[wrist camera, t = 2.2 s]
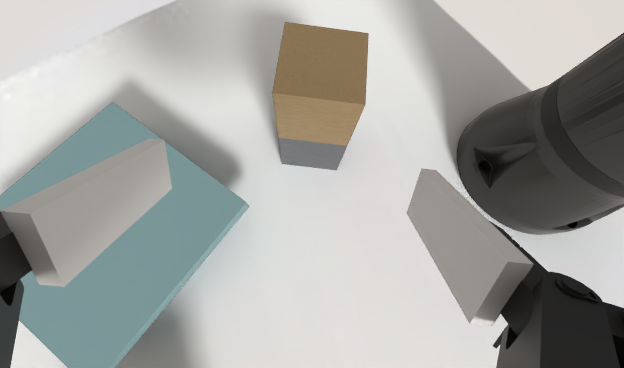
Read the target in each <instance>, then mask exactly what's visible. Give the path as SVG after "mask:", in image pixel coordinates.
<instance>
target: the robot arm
mask: <svg viewBox="0 0 624 368" xmlns="http://www.w3.org/2000/svg"><path fill="white" fill-rule="evenodd" d="M457 160H458V167H459V171H460V175H461V177H462V180H463V182H464V184H465V186H466V188H467V190H468V192H469V193H470V195H471V196H472V198H473V199H474V200H475V202H476V203H477V204H478V205H479V206H480V207H481V208H482V209H483V210H484V211H485V212H486V213H487V214H489V215H490V216H491V217H492V218H494V219H495V220H497V221H498V222H500V223H501V224H503V225H505V226H507V227H509V228H512V229H514V230H517V231H520V232H524V233H529V234H538V235H541V234H553V233H561V232H568V231H572V230H576V229H579V228H582V227H584V226H586V225H588V224H590V223H592V222H594V221H596V220H598V219H600V218H603V217H605V216H607V215H609V214H611V213H613V212H615V211H617V210H619V209H621V208H623V207H624V33H623V34H621V35H620V36H618V37H617V38H616V39H614V40H613V41H611V42H610V43H609V44H607V45H606V46H604V47H603V48H601V49H600V50H599V51H597V52H596V53H594V54H593V55H592V56H590V57H589V58H587V59H586V60H584V61H583V62H582V63H580V64H579V65H577V66H576V67H574V68H573V69H572V70H570V71H569V72H567V73H566V74H565V75H563V76H562V77H561V78H559V79H558V80H556V81H554V82H553V83H551V84H550V85H548V86H546V87H543V88H540V89H537V90H535V91H532V92H529V93H526V94H524V95H521V96H518V97H515V98H513V99H510V100H507V101H505V102H502V103H499V104H497V105H494V106H493V107H491V108H489V109H487V110H486V111H484V112H483V113H482V114H481V115H479V116H478V117H477V118H476V119H474V120H473V121H472V122H471V123H470V124H469V125H468V126H467V127H466V129H465V130H464V132H463V133H462V135H461V138H460V141H459V145H458V151H457ZM171 189H172V185H171V178H170V172H169V166H168V159H167V153H166V147H165V140H158V139H147V140H145V141H143V142H141V143H139V144H137V145H135V146H133V147H130V148H128V149H126V150H124V151H122V152H120V153H118V154H116V155H114V156H112V157H110V158H108V159H106V160H104V161H102V162H100V163H98V164H96V165H94V166H91V167H89V168H87V169H85V170H83V171H81V172H79V173H77V174H75V175H73V176H71V177H69V178H67V179H65V180H63V181H61V182H59V183H57V184H55V185H52V186H50V187H48V188H46V189H44V190H42V191H40V192H38V193H36V194H34V195H32V196H30V197H28V198H26V199H24V200H22V201H20V202H18V203H15V204H13V205H11V206H9V207H7V208H5V209H3V210H1V211H0V368H10V365H11V360H12V354H13V349H14V343H15V338H16V332H17V326H18V321H19V315H20V310H21V304H22V299H23V293H24V286H23V283H22V281H21V280H20V279H21V278H22V277H24V276H25V275H26V274H28V273H29V272H30V271H32V272H33V274H34V276H35V278H36V280H37V282H38V283H39V285H49V286H60V287H65V286H66V285H67V284H68V283H69V282H70V281H71V280H72V279H73V278H74V277H76V276H77V275H78V274H79V273H80V272H81V271H82V270H83V269H84V268H85V267H87V266H88V265H89V264H90V263H91V262H92V261H93V260H94V259H95V258H96V257H98V256H99V255H100V254H101V253H102V252H103V251H104V250H105V249H106V248H107V247H109V246H110V245H111V244H112V243H113V242H114V241H115V240H116V239H117V238H118V237H120V236H121V235H122V234H123V233H124V232H125V231H126V230H127V229H128V228H129V227H131V226H132V225H133V224H134V223H135V222H136V221H137V220H138V219H139V218H140V217H142V216H143V215H144V214H145V213H146V212H147V211H148V210H149V209H150V208H151V207H153V206H154V205H155V204H156V203H157V202H158V201H159V200H160V199H161V198H162V197H163V196H165V195H166V194H167V193H168V192H169V191H170V190H171ZM407 215H408V216H409V218H410V220H411V222H412V223H413V225H414V227H415V229H416V230H417V232H418V234H419V236H420V237H421V239H422V241H423V243H424V244H425V246H426V248H427V250H428V251H429V253H430V255H431V257H432V258H433V260H434V262H435V264H436V265H437V267H438V269H439V271H440V272H441V274H442V276H443V278H444V279H445V281H446V283H447V285H448V287H449V288H450V290H451V292H452V294H453V295H454V297H455V299H456V301H457V302H458V304H459V306H460V308H461V309H462V311H463V313H464V315H465V316H466V318H467V320H468V322H469V323H470V324H477V325H488V326H492V325H493V324H494V322H495V321H496V319H497V318H498V317H499V315H500V314H502V316H503V317H504V319H505V320H506V321H507V323H508V325H507V326H506V328H505V329H504V331H503V332H502V333H501V335H500V336H499V338H498V339H497V340H496V342H495V343H494V345H493V347H495V348H497V347H498V346H499V345H500V351H499V356H498V361H497V367H496V368H624V308H621V307H618V306H615V305H612V304H608V303H605V302H602V300H601V298H600V297H599V296H598V295H597V294H596V293H595V292H594V291H593V290H591V289H590V288H588V287H587V286H585V285H584V284H582V283H581V282H579V281H577V280H575V279H573V278H571V277H568V276H566V275H563V274H560V273H555V272H548V271H547V270H546V269H545V268H544V267H542V266H541V265H540V264H539V263H538V262H537V261H536V260H535V259H534V258H533V257H532V256H531V255H530V254H529V253H527V252H526V251H525V250H524V249H523V248H522V247H520V245H519V244H518V243H517V242H516V241H515V240H512V238H511V237H510V236H509V235H508V234H507V233H506V232H505V231H504V230H503V229H501V228H500V227H498V226H497V225H495V224H493V223H492V222H490V221H488V220H487V219H486V218H485V217H484V216H483V215H482V214H481V213H480V212H479V211H478V210H477V209H476V208H475V207H474V206H473V205H472V204H471V203H470V202H469V201H467V200H466V199H465V198H464V197H463V196H462V195H461V194H460V193H459V192H458V191H457V190H456V189H455V188H454V187H453V186H452V185H451V184H450V183H449V182H448V181H447V180H446V179H445V178H444V177H442V176H441V175H440V174H439V173H438V172H437V171H436V170H429V169H421V172H420V175H419V178H418V181H417V184H416V187H415V190H414V193H413V196H412V199H411V202H410V205H409V208H408V211H407Z"/></svg>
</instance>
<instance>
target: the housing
mask: <svg viewBox="0 0 624 368" xmlns="http://www.w3.org/2000/svg"><path fill="white" fill-rule="evenodd" d="M367 55H368V33H362V32H355V31H348V30H340V29H333V28H325V27H318V26H310V25H303V24H296V23H288V22H285V25H284V30H283V36H282V42H281V47H280V53H279V58H278V64H277V70H276V75H275V81H274V86H273V92H272V94H273V102H274V109H275V116H276V124H277V131H278V139H279V146H280V153H281V161H282V164H289V165H297V166H305V167H314V168H322V169H331V170H337V168H338V166H339V163H340V161H341V159H342V157H343V154H344V152H345V150H346V147H347V145H348V143H349V141H350V138H351V136H352V134H353V132H354V129H355V127H356V125H357V122H358V120H359V118H360V116H361V113H362V111H363V109H364V107H365V100H366V78H367Z"/></svg>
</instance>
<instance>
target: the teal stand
mask: <svg viewBox="0 0 624 368" xmlns="http://www.w3.org/2000/svg"><path fill="white" fill-rule="evenodd" d="M147 139H158V140H163V139H161V138H160V137H159V136H157V135H156V134H155V133H153V132H152V131H151V130H149V129H148V128H147V127H145V126H144V125H143V124H141V123H140V122H139V121H137V120H136V119H135V118H133V117H132V116H131V115H130V114H128V113H127V112H126V111H124V110H123V109H122V108H120V107H119V106H118V105H116V104H115V103H114V102H112V103H111V104H109V105H108V106H107V107H106V108H105V109H103V110H102V111H101V112H100V113H99V114H97V115H96V116H95V117H94V118H93V119H91V120H90V121H89V122H88V123H87V124H85V125H84V126H83V127H82V128H81V129H79V130H78V131H77V132H76V133H75V134H73V135H72V136H71V137H70V138H69V139H67V140H66V141H65V142H64V143H63V144H62V145H60V146H59V147H58V148H57V149H56V150H54V151H53V152H52V153H51V154H50V155H48V156H47V157H46V158H45V159H44V160H42V161H41V162H40V163H39V164H38V165H36V166H35V167H34V168H33V169H32V170H30V171H29V172H28V173H27V174H26V175H24V176H23V177H22V178H21V179H20V180H18V181H17V182H16V183H15V184H14V185H12V186H11V187H10V188H9V189H8V190H6V191H5V192H4V193H3V194H2V195H0V211H1V210H3V209H5V208H7V207H9V206H11V205H13V204H15V203H18V202H20V201H22V200H24V199H26V198H28V197H30V196H32V195H34V194H36V193H38V192H40V191H42V190H44V189H46V188H48V187H50V186H52V185H55V184H57V183H59V182H61V181H63V180H65V179H67V178H69V177H71V176H73V175H75V174H77V173H79V172H81V171H83V170H85V169H87V168H89V167H91V166H94V165H96V164H98V163H100V162H102V161H104V160H106V159H108V158H110V157H112V156H114V155H116V154H118V153H120V152H122V151H124V150H126V149H128V148H130V147H133V146H135V145H137V144H139V143H141V142H143V141H145V140H147ZM165 147H166V153H167V159H168V166H169V172H170V178H171V185H172V189H171V190H170V191H169V192H168V193H167V194H166V195H165V196H163V197H162V198H161V199H160V200H159V201H158V202H157V203H156V204H155V205H154V206H153V207H151V208H150V209H149V210H148V211H147V212H146V213H145V214H144V215H143V216H142V217H140V218H139V219H138V220H137V221H136V222H135V223H134V224H133V225H132V226H131V227H129V228H128V229H127V230H126V231H125V232H124V233H123V234H122V235H121V236H120V237H118V238H117V239H116V240H115V241H114V242H113V243H112V244H111V245H110V246H109V247H107V248H106V249H105V250H104V251H103V252H102V253H101V254H100V255H99V256H98V257H96V258H95V259H94V260H93V261H92V262H91V263H90V264H89V265H88V266H87V267H85V268H84V269H83V270H82V271H81V272H80V273H79V274H78V275H77V276H76V277H74V278H73V279H72V280H71V281H70V282H69V283H68V284H67V285H66V286H65V287H60V286H49V285H39V283H38V282H37V280H36V278H35V276H34V274H33V272H32V271H30V272H29V273H28V274H26V275H25V276H24V277H22V278H21V279H20V280H21V281H22V283H23V286H24V293H23V299H22V304H21V310H20V315H19V321H20V322H22V323H23V324H24V325H25V326H26V327H27V328H28V329H29V330H30V331H31V332H32V333H33V334H34V335H35V336H36V337H37V338H38V339H39V340H40V341H41V342H42V343H43V344H44V345H45V346H46V347H47V348H48V349H49V350H50V351H51V352H52V353H53V354H54V355H55V356H57V357H58V358H59V359H60V360H61V361H62V362H63V363H64V364H65V365H66V366H67V367H68V368H116V366H117V365H118V364H119V363H120V362H121V360H122V359H123V358H124V357H125V356H126V354H127V353H128V352H129V351H130V350H131V348H132V347H133V346H134V345H135V343H136V342H137V341H138V340H139V339H140V337H141V336H142V335H143V334H144V333H145V331H146V330H147V329H148V328H149V327H150V325H151V324H152V323H153V322H154V321H155V319H156V318H157V317H158V316H159V315H160V313H161V312H162V311H163V310H164V309H165V307H166V306H167V305H168V304H169V303H170V301H171V300H172V299H173V298H174V297H175V295H176V294H177V293H178V292H179V291H180V289H181V288H182V287H183V286H184V284H185V283H186V282H187V281H188V280H189V278H190V277H191V276H192V275H193V274H194V272H195V271H196V270H197V269H198V268H199V266H200V265H201V264H202V263H203V262H204V260H205V259H206V258H207V257H208V256H209V254H210V253H211V252H212V251H213V250H214V248H215V247H216V246H217V245H218V244H219V242H220V241H221V240H222V239H223V238H224V236H225V235H226V234H227V233H228V232H229V230H230V229H231V228H232V227H233V225H234V224H235V223H236V222H237V221H238V219H239V218H240V217H241V216H242V215H243V213H244V212H245V211H246V210H247V209H248V207H249V205H248V204H247V202H245V201H244V200H243V199H241V198H240V197H239V196H237V195H236V194H235V193H233V192H232V191H231V190H229V189H228V188H227V187H225V186H224V185H223V184H221V183H220V182H219V181H217V180H216V179H215V178H213V177H212V176H211V175H209V174H208V173H207V172H205V171H204V170H203V169H201V168H200V167H199V166H197V165H196V164H195V163H193V162H192V161H191V160H189V159H188V158H187V157H185V156H184V155H183V154H181V153H180V152H179V151H177V150H176V149H175V148H173V147H172V146H171V145H169V144H168V143H167V142H165Z"/></svg>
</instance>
